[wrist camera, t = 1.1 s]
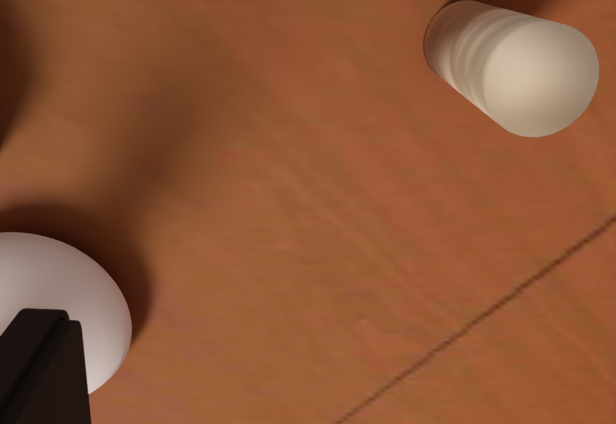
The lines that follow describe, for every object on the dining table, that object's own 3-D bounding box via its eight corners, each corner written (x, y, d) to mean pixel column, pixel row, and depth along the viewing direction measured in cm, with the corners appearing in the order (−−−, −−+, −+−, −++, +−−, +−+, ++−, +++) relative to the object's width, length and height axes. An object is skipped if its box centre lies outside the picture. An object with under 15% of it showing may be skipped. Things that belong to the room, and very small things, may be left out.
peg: (428, -2, 29) (495, 20, 20) (507, 1, 29) (611, 24, 20) (419, 80, 31) (477, 136, 21) (494, 82, 31) (584, 138, 22)
